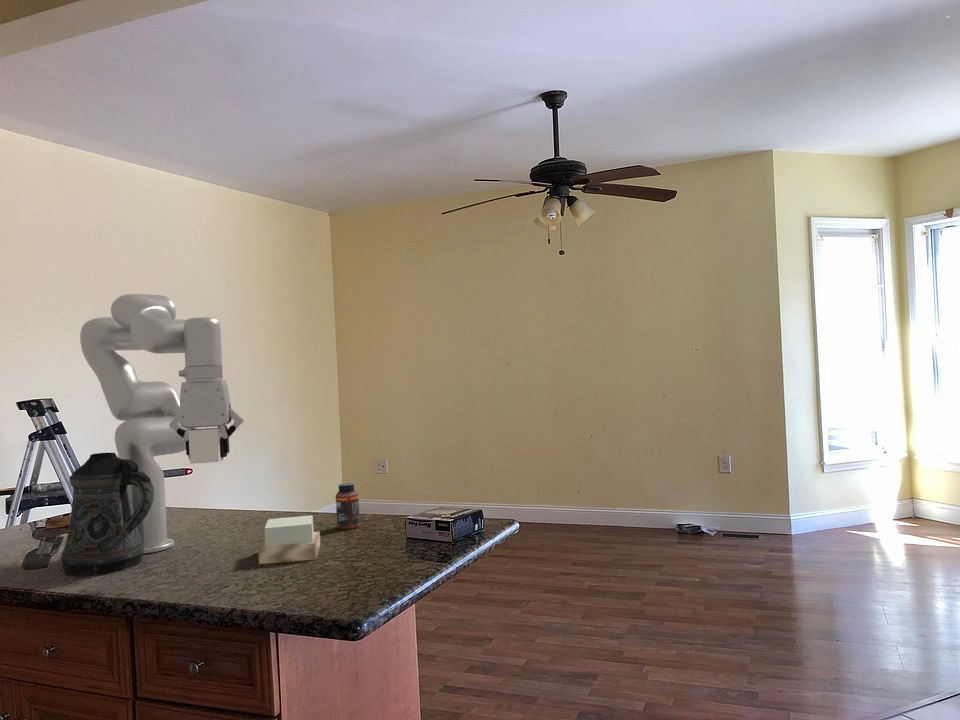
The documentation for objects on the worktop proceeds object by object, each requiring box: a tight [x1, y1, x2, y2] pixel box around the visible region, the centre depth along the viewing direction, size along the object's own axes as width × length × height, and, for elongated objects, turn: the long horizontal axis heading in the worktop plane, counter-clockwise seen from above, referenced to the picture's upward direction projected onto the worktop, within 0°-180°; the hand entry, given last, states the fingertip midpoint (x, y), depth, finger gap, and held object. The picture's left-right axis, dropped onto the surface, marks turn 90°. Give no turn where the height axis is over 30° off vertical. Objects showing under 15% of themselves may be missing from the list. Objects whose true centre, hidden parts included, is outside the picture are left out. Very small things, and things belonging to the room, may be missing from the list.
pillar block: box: [188, 426, 227, 465], centre depth 160 cm, size 6×6×7 cm
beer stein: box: [60, 452, 154, 577], centre depth 165 cm, size 16×19×25 cm
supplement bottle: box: [335, 482, 361, 530], centre depth 193 cm, size 6×6×11 cm
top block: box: [264, 514, 315, 547], centre depth 166 cm, size 10×10×4 cm
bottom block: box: [258, 531, 321, 565], centre depth 166 cm, size 12×12×4 cm
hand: (208, 456), depth 160 cm, fingers closed on pillar block, 6 cm apart
